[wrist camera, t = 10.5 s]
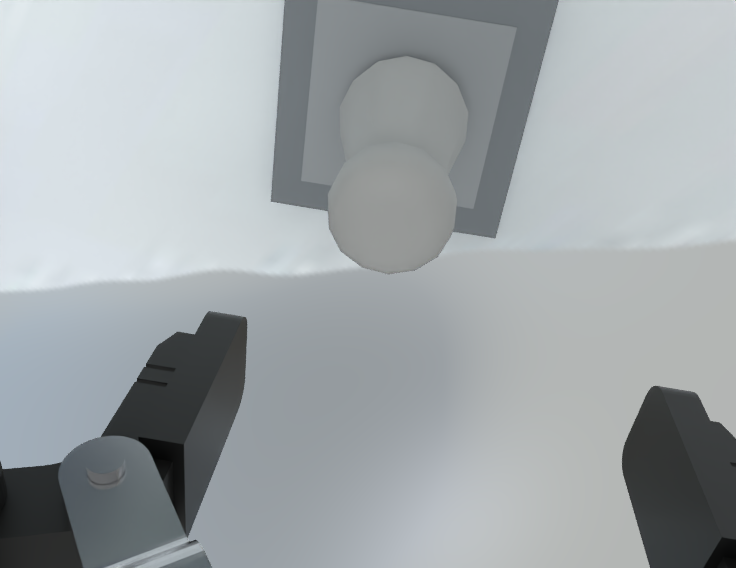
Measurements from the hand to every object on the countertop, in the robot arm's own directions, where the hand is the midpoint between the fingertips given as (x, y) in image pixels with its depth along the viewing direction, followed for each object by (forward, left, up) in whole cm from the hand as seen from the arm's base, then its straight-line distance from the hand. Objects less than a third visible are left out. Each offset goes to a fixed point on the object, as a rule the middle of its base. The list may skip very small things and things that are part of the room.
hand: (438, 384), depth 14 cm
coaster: (+2, +1, -23) cm, 23 cm away
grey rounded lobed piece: (+1, +1, -22) cm, 22 cm away
